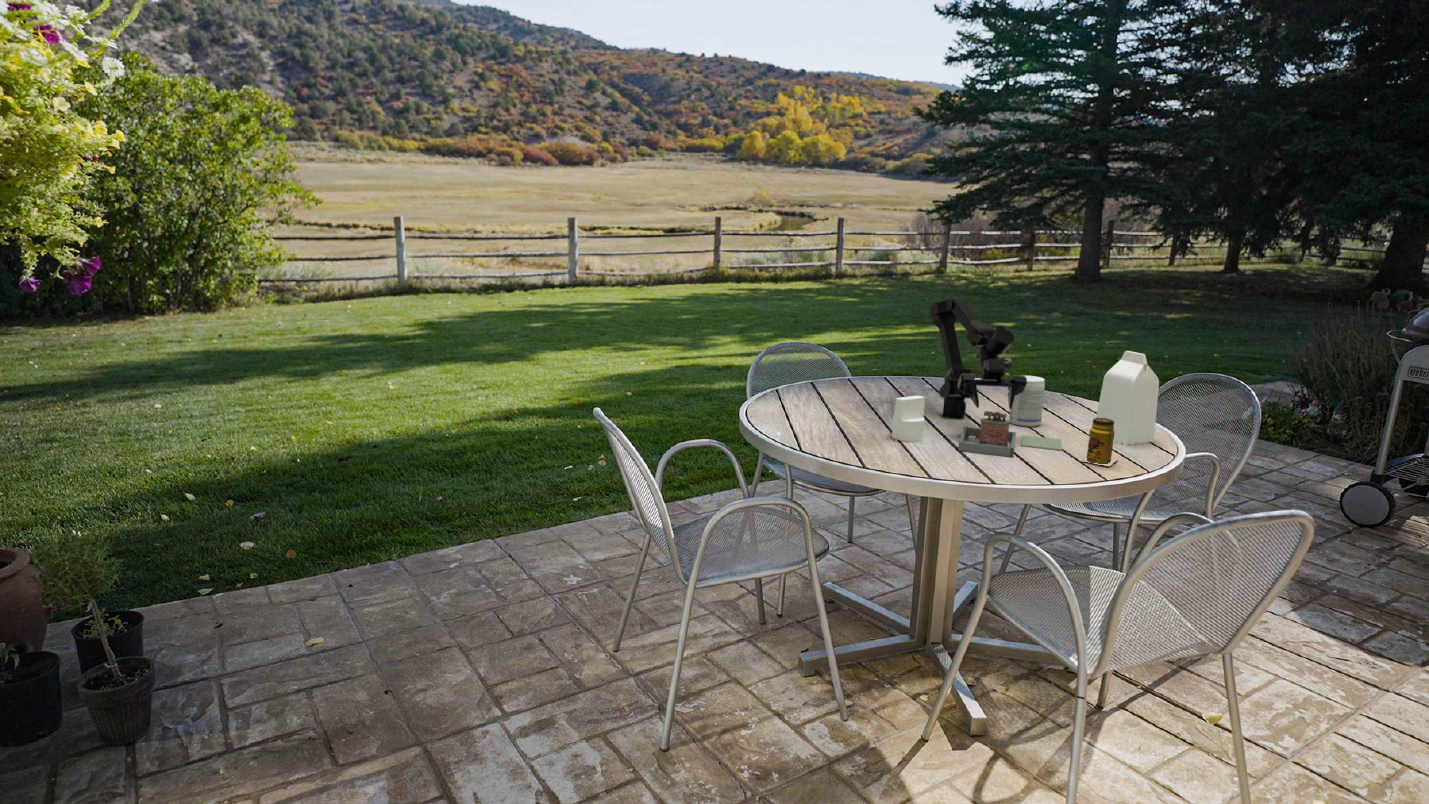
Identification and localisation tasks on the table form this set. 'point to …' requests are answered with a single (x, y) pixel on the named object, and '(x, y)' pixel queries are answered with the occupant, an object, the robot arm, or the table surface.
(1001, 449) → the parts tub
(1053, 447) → the mat
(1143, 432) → the milk
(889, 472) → the table surface
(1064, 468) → the table surface
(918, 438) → the base with upright slab
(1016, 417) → the supplement tub
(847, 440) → the table surface
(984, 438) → the lighter
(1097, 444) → the condiment
